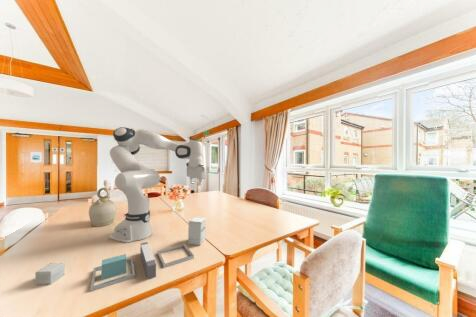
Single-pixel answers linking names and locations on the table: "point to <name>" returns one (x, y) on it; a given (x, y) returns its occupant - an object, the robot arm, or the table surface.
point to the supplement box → (196, 231)
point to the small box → (49, 273)
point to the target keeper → (94, 287)
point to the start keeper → (175, 260)
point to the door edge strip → (148, 260)
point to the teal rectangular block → (113, 267)
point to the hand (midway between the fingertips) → (195, 184)
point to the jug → (102, 210)
